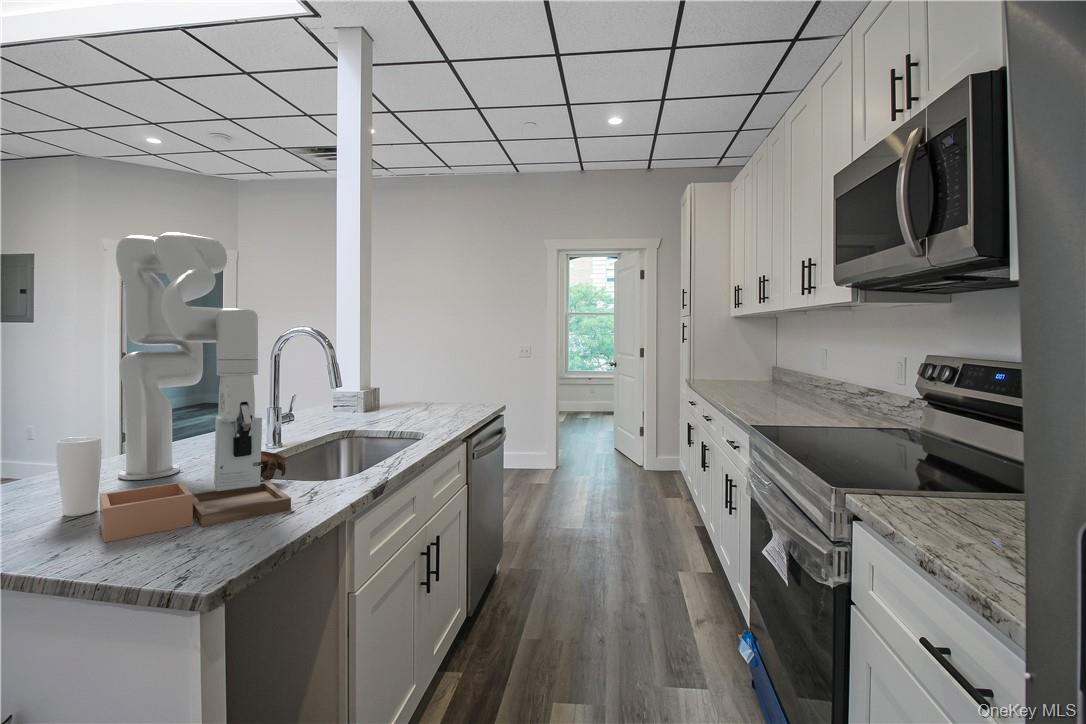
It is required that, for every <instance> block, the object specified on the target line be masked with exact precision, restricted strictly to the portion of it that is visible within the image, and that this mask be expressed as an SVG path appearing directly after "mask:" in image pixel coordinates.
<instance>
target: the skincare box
mask: <svg viewBox="0 0 1086 724" xmlns="http://www.w3.org/2000/svg"><path fill="white" fill-rule="evenodd" d="M250 418H251V417H250ZM214 419H215V431H214V432H215V436H214V437H215V438H214V439H215V441H214V444H215V445H214V477H213V478H214V480H213V483H214V484H213V485H214V487H215V490H216V491H224V490H231V489H239V488H245V487H255V486H260V482H261V479H260V476H261V466H262V465H261V451H262V439H263V417H262V416H260V415H259V414H255V418H254V420H253V421H252V422H251V436H252V454H251V455H248V456H241V457H235V456H234V455H233V437H235V430H234V422H232V424H227V423H226V420H225V418H223V417H221V416H218V415H216V416H215V418H214ZM251 419H252V418H251ZM241 421H242V419H241V420H237V422H241ZM238 427H240V426H238ZM261 477H262V476H261Z"/></svg>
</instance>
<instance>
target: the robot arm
mask: <svg viewBox="0 0 1086 724" xmlns="http://www.w3.org/2000/svg"><path fill="white" fill-rule="evenodd" d="M227 254H228V253H227V251H226V249H225V247H224V245H223V244H222V243H221V242H220V241H219V240H218V239H215V238H212V237H206V236H202V235H201V236H200V235H194V234H188V233H182V232H166V233H163V234H162V233H161V234H160V235H159V236H157V237H153V236H147V235H128V236H125V237H123V238H121V239H120V240H119V242H118V243H117V246H116V251H115V261H116V267H117V269H118V273H119V275H120V277H121V281H122V283H123V286H124V291H125V292H124V294H125V296H124V297H125V328H126V334H127V338H128V340H129V341H130V342H132V343H133V344H135V345H140V346H176V348H177V350H139V351H133V352H129V353H127V354H126V355H124V356H123V357H122V358H121V360H120V362H119V365H118V367H119V376H120V379H121V383H122V389H123V395H124V396H123V397H124V415H125V416H124V417H125V420H124V422H125V423H124V424H125V427H124V429H125V468H124V469H122V470H119V472H118V473H117V477H118V479H120V480H121V479H122V480H126V481H141V480H152V479H158V478H159V479H160V478H163V477H168V476H172V475H174V474H177V473H179V472H180V470H181V466H180V465H179V464H176V463H173V407H172V402H171V400H170V399H169V398H168V397H167V396H166V395H165V394H164V392H163V391H162V390H161V389H163V388H175V387H189V386H194V385H197V384H198V383H199V382H200V381H201V379H202V377H203V373H204V372H203V371H204V347H203V345H204V344H203V343H215V346H216V347H215V348H216V351H215V352H216V353H215V356H216V357H215V358H216V359H215V360H216V361H215V362H216V364H215V365H216V367H215V368H216V370H215V371H216V376H220V378H219V388H218V405H217V406H218V407H217V408H218V409H217V410H218V412H217V416H221V417H223V418H225V420H226V423H227V424H232V422H234V430H235V437H233V455H234V456H235V457H241V456H248V455H251V454H252V436H251V422H252V421H253V420H254V418H255V415H256V402H255V401H256V400H255V399H256V398H255V397H256V395H255V379H254V376H257V375H259V317H258V313H257V312H256V311H255V310H253V309H249V308H236V307H235V308H234V307H233V308H232V307H231V308H229V307H228V308H227V307H226V308H225V307H224V308H223V307H211V306H208V307H207V306H193V305H187V304H186V302H189V301H192V300H196V299H199V298H201V297H204V296H206V295H207V294H209V293H210V292H211V291H212V290H213V289H214V288H215V286H216V281H217V280H216V277H215V274H219V273H221V272H223V271H224V269H225V268H226V266H227V262H228V255H227ZM155 273H156V274H157V273H159V274H165V275H166V278H167V279H168V281H169V282H170V283H168V285H167V286H165V285H164V282H163V281H162V280H161V279H160V278H159V277H158V276H157V275H156V274H155ZM250 417H251V418H252V419H251V418H250ZM241 419H242V421H241V422H237V420H241ZM238 426H240V427H238Z"/></svg>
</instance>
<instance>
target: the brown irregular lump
mask: <svg viewBox="0 0 1086 724" xmlns="http://www.w3.org/2000/svg"><path fill="white" fill-rule="evenodd" d="M285 462H286V457H284V456H282V455H280V454H278V453H275V452H270V451H265V450H264V451H263V450H261V476H260V480H261V478H262V479H263V480H265V481H270V480H271V481H272V480H273V478H274V477H275V473H276V470H279V471H280V472H281V477H284V476H285V475H286V472H287V469H286V463H285Z"/></svg>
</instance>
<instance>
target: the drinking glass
mask: <svg viewBox="0 0 1086 724" xmlns="http://www.w3.org/2000/svg"><path fill="white" fill-rule="evenodd" d="M55 448H56V449H55V454H56V455H55V458H56V468H57V477H58V482H59V491H60V497H61V499H60V500H61V505H62V506H61V507H62V508H61V509H62V510H61V511H62V515H63V516H65V517H81V516H86V515H89V514H92V513H95V512H96V511H97V510H98V507H99V492H100V490H99V489H100V480H101V479H100V478H101V469H102V468H101V467H102V453H103V451H102V438H101V436H93V435H92V436H91V435H90V436H89V435H87V436H84V435H83V436H74V437H67V438H61V439H58V440H57V441H56V446H55Z"/></svg>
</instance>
